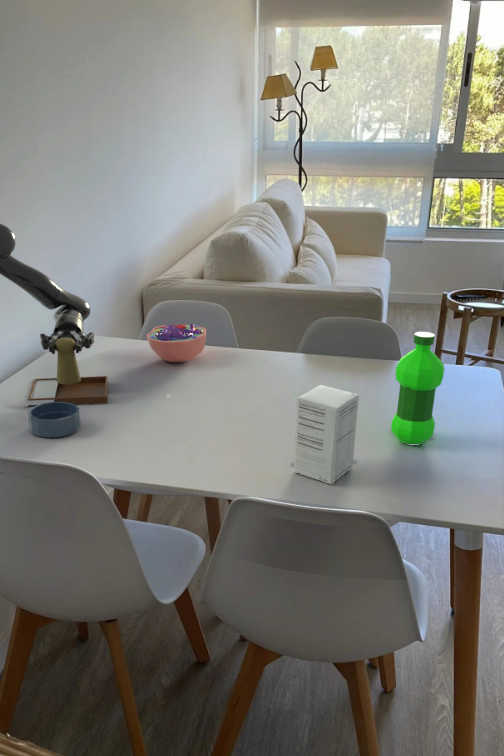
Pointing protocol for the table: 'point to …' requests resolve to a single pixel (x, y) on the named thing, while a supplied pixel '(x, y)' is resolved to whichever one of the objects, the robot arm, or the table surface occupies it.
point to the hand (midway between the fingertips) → (65, 349)
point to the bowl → (54, 419)
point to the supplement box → (325, 433)
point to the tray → (79, 391)
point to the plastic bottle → (417, 391)
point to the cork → (67, 362)
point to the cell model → (177, 341)
